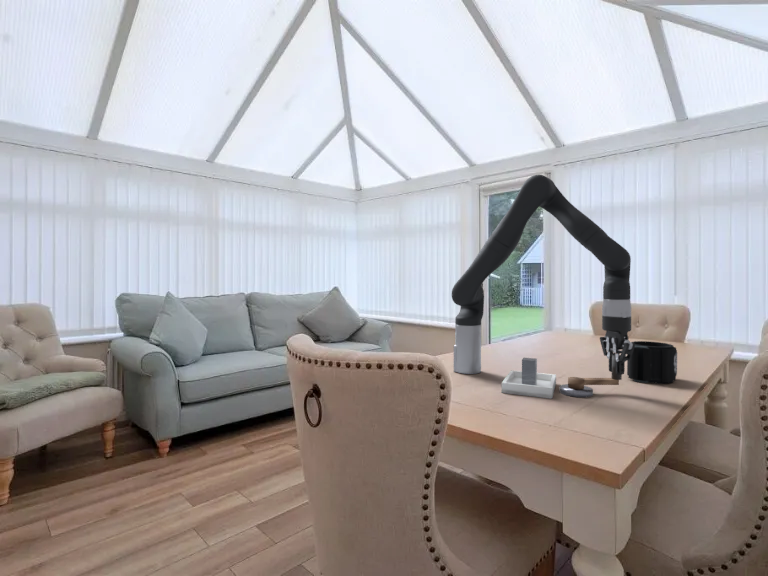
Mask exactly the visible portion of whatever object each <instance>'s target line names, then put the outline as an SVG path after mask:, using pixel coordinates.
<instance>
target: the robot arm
mask: <svg viewBox="0 0 768 576" xmlns="http://www.w3.org/2000/svg"><path fill="white" fill-rule="evenodd" d="M539 207H540V208H541V209H543V210H544V211H546V212H548V213H549V214H550V215H552V216H553V217H554V218H555V219H556V220H557V221H558V222H559V223H560V224H561V225H562V226H563V227H564V229H565V230H566V231H567V232H568V233H569V235H571V236H572V238H574V239H575V240H576V241H577V242H578V243H579V244H580V245H581V246H583V248H585V249H586V250H587V251H589V252H591V254H592V255H593V256H594V257H595V258H596V259H597V260H598V261H599V263H601V264H602V265H604V282H603V287H602V288H603V289H602V291H603V292H602V293H603V294H602V296H603V297H602V299H603V300H602V305H601V306H602V308H601V313H602V314H601V317H602V318H601V328H602V330H603V331H605V335H604V336H600V337H599V341H600V345H601V350H602V353H603V356H605V357H606V358H607V359H608V371H609V372H610V373H612V355H615V356H616V374H618V375H620V374H622V375H624V374H625V368H626V367H625V362H627V361H630V359H631V356H632V353H633V350H634V347H635V343H634V341H631V340H629V336H628V332H631V331H632V301H631V283H630V278H631V262H632V260H631V259H632V258H631V254H630V253H629V251H628V250H627V249H626V248H625V247H623V246H622V245H621V244H620V243H618V242H617V241H616V240H614V239H613V238H611V237H610V236H609V235H608V233H606V232H605V231H604V230H603V228H601V227H600V226H599V225H598V224H597V223H595V222H594V221H593V220H592V219H590V218H589V217H588V216H587V215H586V214H584V213H583V212H582V211H580V210H579V209H578V208H576V207H575V206H574V205H573V204H572V202H570V201H569V200H568V199H567V197H565V196H564V194H563V193H562V192H561V191H560V189H559V188H558V187H557V186H556V184H555V182H554V181H553V180H552V179H550V178H549V177H547V176H546V175H542V174H534V175H531V176H530V177H529V178H526V180H525V181H524V183H523V184H522V186H521V187H520V189H519V191H518V193H517V195H516V196H515V199H514V200H513V202H512V204H511V205H510V207H509V208H508V211H507V212H506V213H505V214H504V216H503V217H502V218H501V220H500V221H499V223H498V224H497V226H496V227H495V229H494V230H493V231H492V233H491V234H490V235H489V236H488V239H486V241H485V243H484V245H483V246H482V248H481V249H480V250H479V252H478V254H477V255H476V257H475V258H474V259H473V261H472V263H471V264H470V265H469V267H468V268H467V270H466V271H465V272H464V273H463V274H462V275H461V277H460V278H458V280H457V281H456V282H455V283H454V286H453V287H452V289H451V299H452V301H453V303H454V304H456V305H457V306H460V310H459V312H458V313H457V315H456V316H455V326H454V329H455V331H454V333H455V335H454V336H455V337H454V339H455V340H454V341H455V342H454V343H455V344H454V345H453V372H456V373H459V374H463V375H464V374H465V375H466V374H467V375H472V374H473V375H475V374H480V373H481V372H482V320H483V317H484V309H485V308H484V307H485V292H484V288H483V286H482V285H483V283H484V282H485V280H486V279H487V278H488V277H489V276H490V275H491V274H492V273H494V272H495V271H496V270H497V269H498V268H499V267H501V266H502V265H503V264H504V263H505V262H506V261H507V260H508V259H509V257H510V256H511V255H512V253H513V252H514V250H516V247H517V246H518V244H519V243H520V241H521V238H522V235H523V232H524V231H525V228H526V225H527V223H528V221H529V220H530V218H532V216H533V214H534V213H536V211H537V210H538V209H539Z"/></svg>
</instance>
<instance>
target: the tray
mask: <svg viewBox="0 0 768 576" xmlns="http://www.w3.org/2000/svg"><path fill="white" fill-rule="evenodd" d="M556 384H557V374H556V373H555V374H553V373H543V372H537V385H526V384H522V370H513V369H512V370H510V371H509V372H508V373H507V375H506V377H505V378H504V379H503V381H501V393H503V394H510V395H518V396H525V397H536V398H541V399H542V398H544V399H553V396H554V393H555V389H556Z"/></svg>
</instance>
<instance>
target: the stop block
mask: <svg viewBox="0 0 768 576" xmlns="http://www.w3.org/2000/svg"><path fill="white" fill-rule="evenodd" d="M521 371H522V384H526V385H537V373H538V358H533V357H523V358H522V359H521Z"/></svg>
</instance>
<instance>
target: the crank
mask: <svg viewBox="0 0 768 576" xmlns="http://www.w3.org/2000/svg"><path fill="white" fill-rule="evenodd" d="M622 376H623V374H620V375H618V374H616V356H615V355H612V372H611V377H577V376H569V377H567V384H568V387H569V388H571V389H584V386H619V384H620V381H621V380H622V379H623V378H622Z"/></svg>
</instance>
